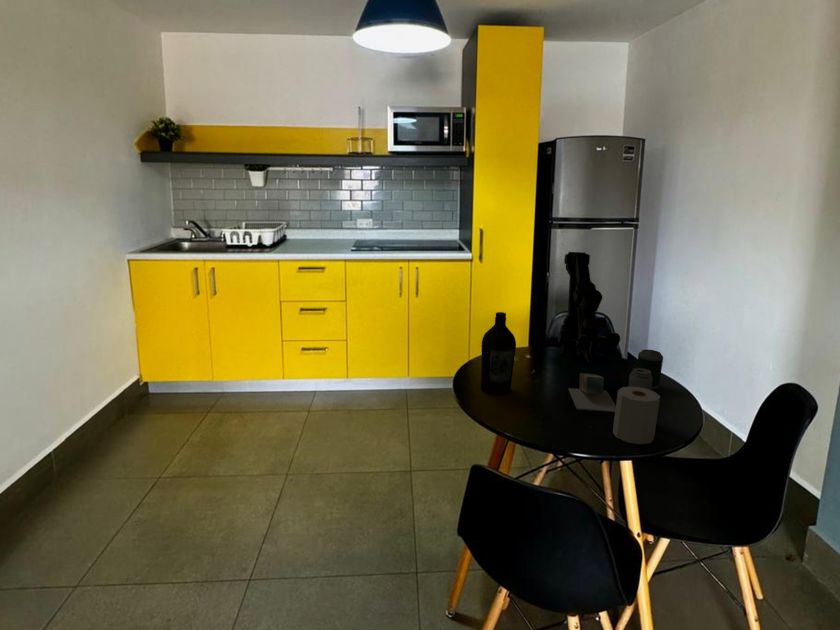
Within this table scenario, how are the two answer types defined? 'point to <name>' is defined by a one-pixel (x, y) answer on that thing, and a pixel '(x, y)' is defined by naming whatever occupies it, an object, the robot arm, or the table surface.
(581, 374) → the birch block
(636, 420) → the toilet paper
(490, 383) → the olive oil
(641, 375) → the energy drink can
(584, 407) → the rubber mat
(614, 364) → the table surface
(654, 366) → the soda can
